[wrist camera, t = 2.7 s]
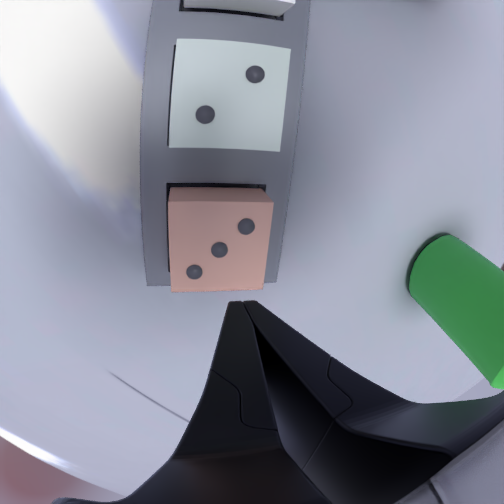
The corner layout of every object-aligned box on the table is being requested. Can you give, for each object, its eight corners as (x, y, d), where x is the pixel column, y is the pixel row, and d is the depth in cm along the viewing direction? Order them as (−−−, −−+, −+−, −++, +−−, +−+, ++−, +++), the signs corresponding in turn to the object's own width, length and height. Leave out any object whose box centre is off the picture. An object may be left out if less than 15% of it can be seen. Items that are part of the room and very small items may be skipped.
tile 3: (261, 188, 20) (274, 203, 17) (253, 266, 22) (263, 290, 20) (170, 187, 18) (168, 202, 16) (172, 268, 21) (171, 293, 18)
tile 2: (275, 56, 16) (291, 48, 13) (266, 144, 18) (280, 152, 16) (178, 49, 14) (176, 38, 12) (171, 141, 17) (168, 147, 14)
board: (304, -46, 13) (314, -56, 11) (269, 269, 25) (276, 282, 24) (170, -61, 11) (170, -73, 9) (149, 272, 23) (147, 286, 21)
